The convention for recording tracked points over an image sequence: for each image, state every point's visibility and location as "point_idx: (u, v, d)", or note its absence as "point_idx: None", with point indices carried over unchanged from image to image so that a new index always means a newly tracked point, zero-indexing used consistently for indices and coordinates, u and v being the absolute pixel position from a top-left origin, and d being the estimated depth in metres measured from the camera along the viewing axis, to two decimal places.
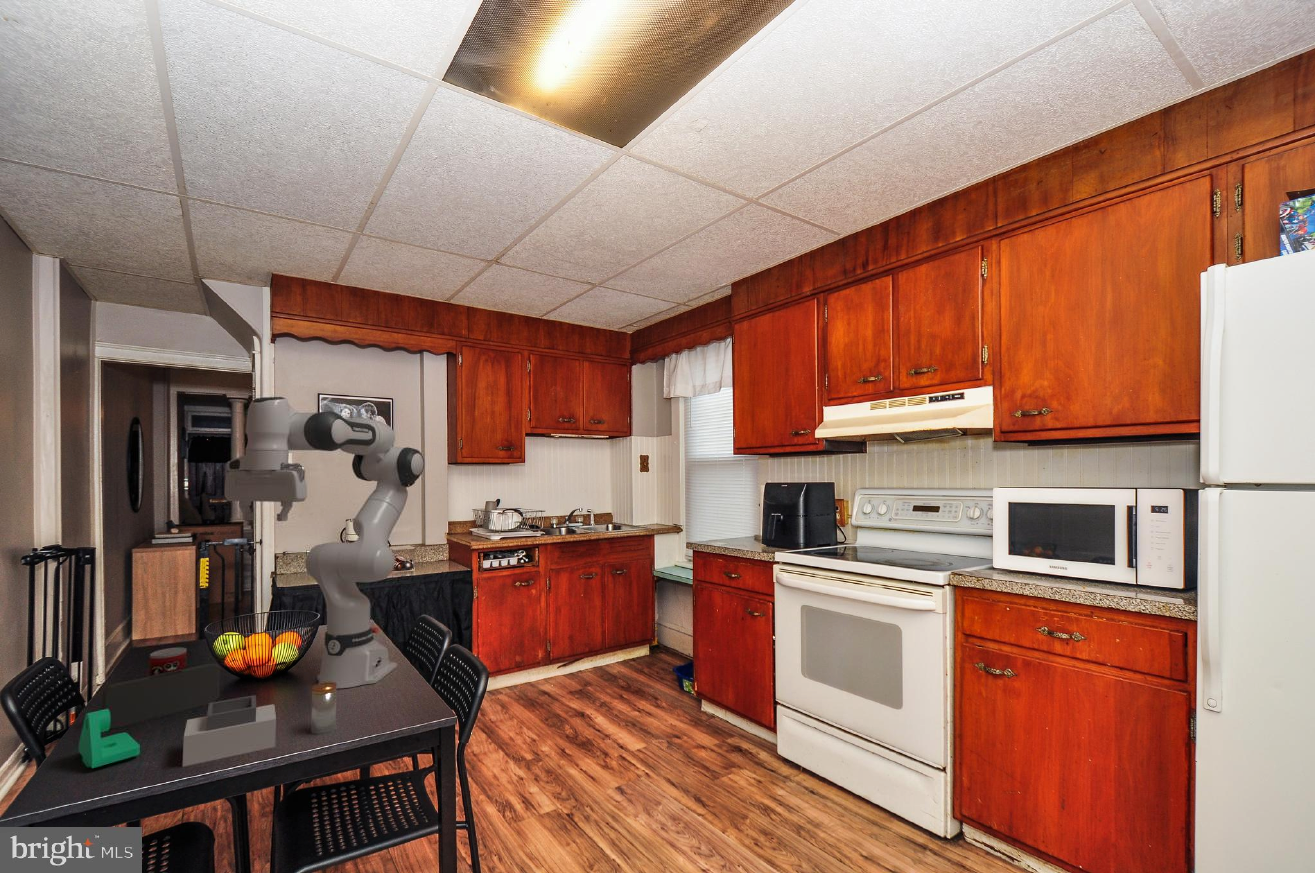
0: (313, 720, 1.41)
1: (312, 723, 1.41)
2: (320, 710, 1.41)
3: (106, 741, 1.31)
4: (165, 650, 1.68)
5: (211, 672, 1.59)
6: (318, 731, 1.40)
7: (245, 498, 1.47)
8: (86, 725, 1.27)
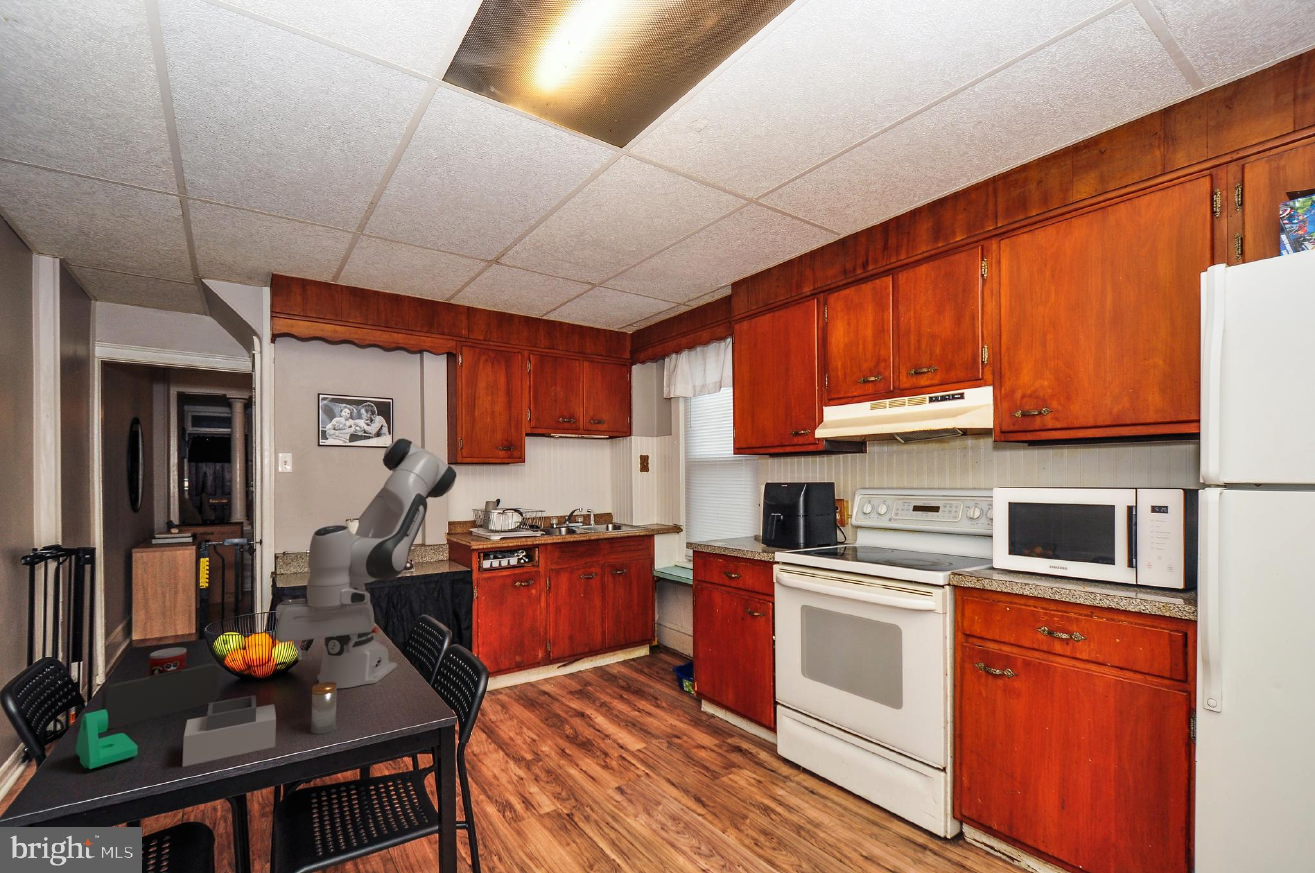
0: (313, 720, 1.41)
1: (312, 723, 1.41)
2: (320, 710, 1.41)
3: (104, 742, 1.31)
4: (165, 650, 1.68)
5: (211, 671, 1.59)
6: (318, 731, 1.40)
7: None
8: (83, 726, 1.27)
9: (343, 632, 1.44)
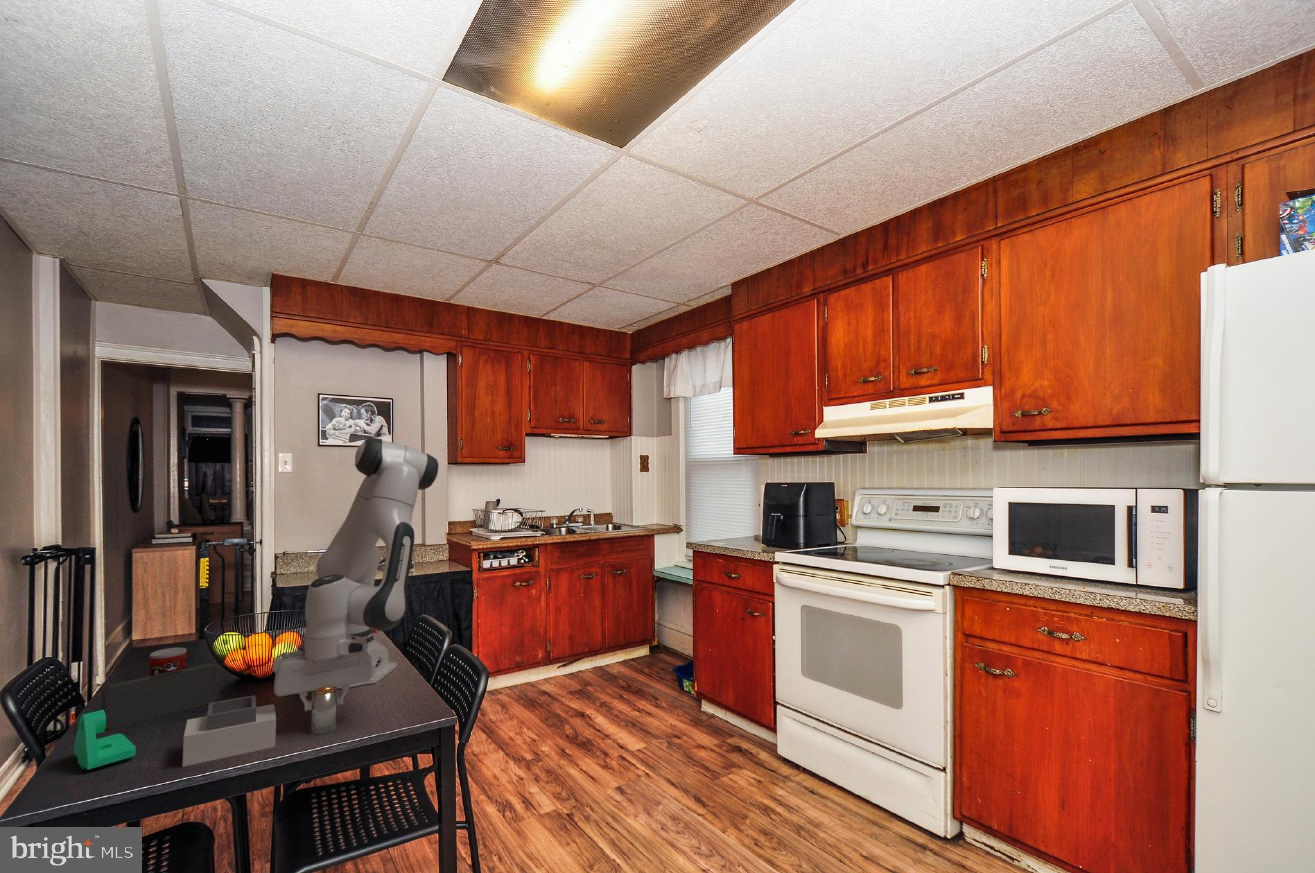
0: (313, 720, 1.41)
1: (312, 723, 1.41)
2: (320, 710, 1.41)
3: (101, 742, 1.30)
4: (165, 650, 1.68)
5: (211, 672, 1.59)
6: (318, 731, 1.40)
7: None
8: (81, 726, 1.27)
9: (341, 682, 1.44)
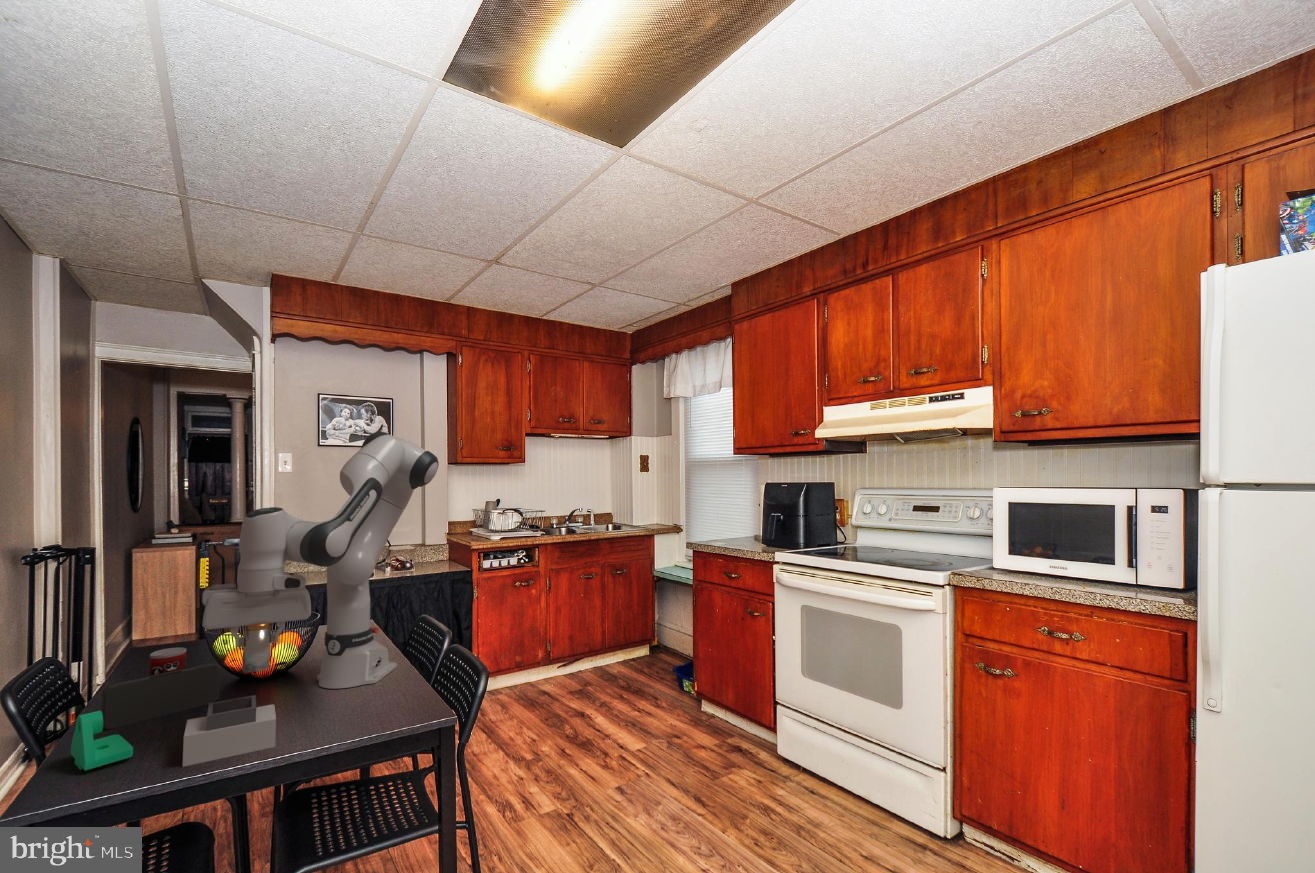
0: (245, 657, 1.34)
1: (243, 661, 1.34)
2: (252, 646, 1.34)
3: (99, 743, 1.30)
4: (165, 650, 1.68)
5: (211, 672, 1.59)
6: (249, 669, 1.34)
7: None
8: (78, 727, 1.26)
9: (276, 619, 1.37)
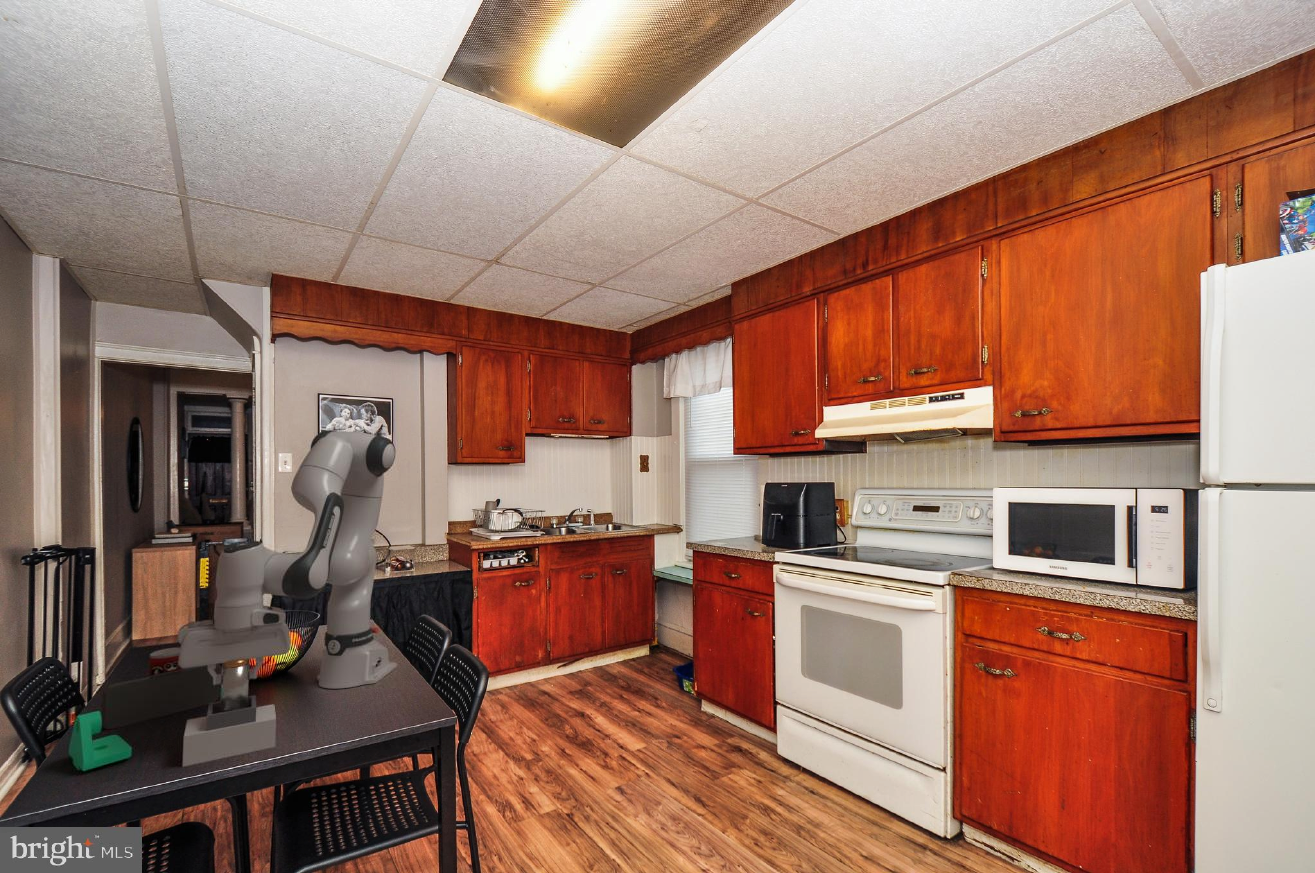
0: (222, 695, 1.32)
1: (221, 698, 1.32)
2: (230, 684, 1.32)
3: (97, 744, 1.30)
4: (165, 650, 1.68)
5: None
6: (227, 707, 1.32)
7: None
8: (77, 727, 1.26)
9: (255, 655, 1.35)
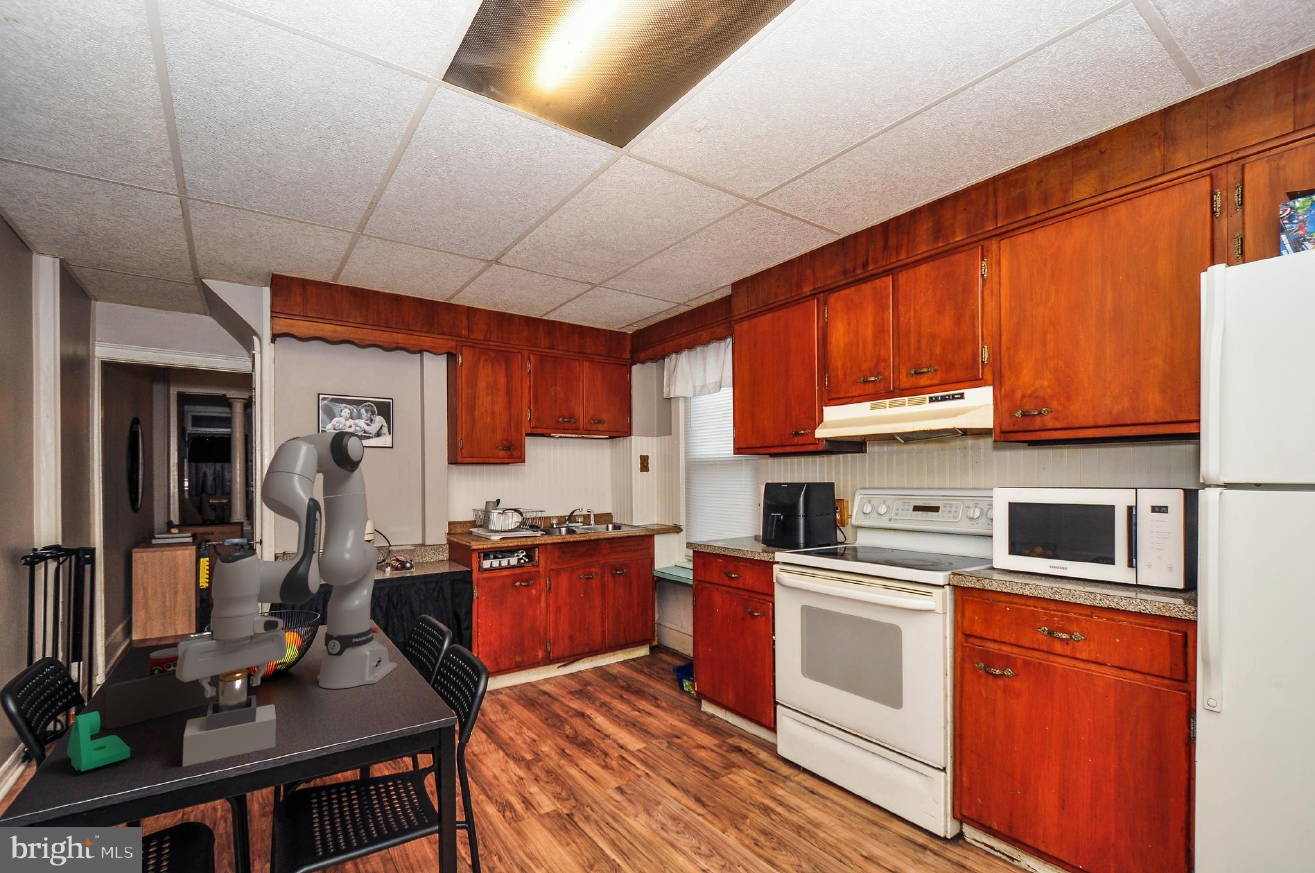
0: (223, 709, 1.32)
1: None
2: (232, 697, 1.32)
3: (95, 744, 1.30)
4: (165, 650, 1.68)
5: None
6: None
7: None
8: (75, 728, 1.26)
9: (254, 663, 1.36)
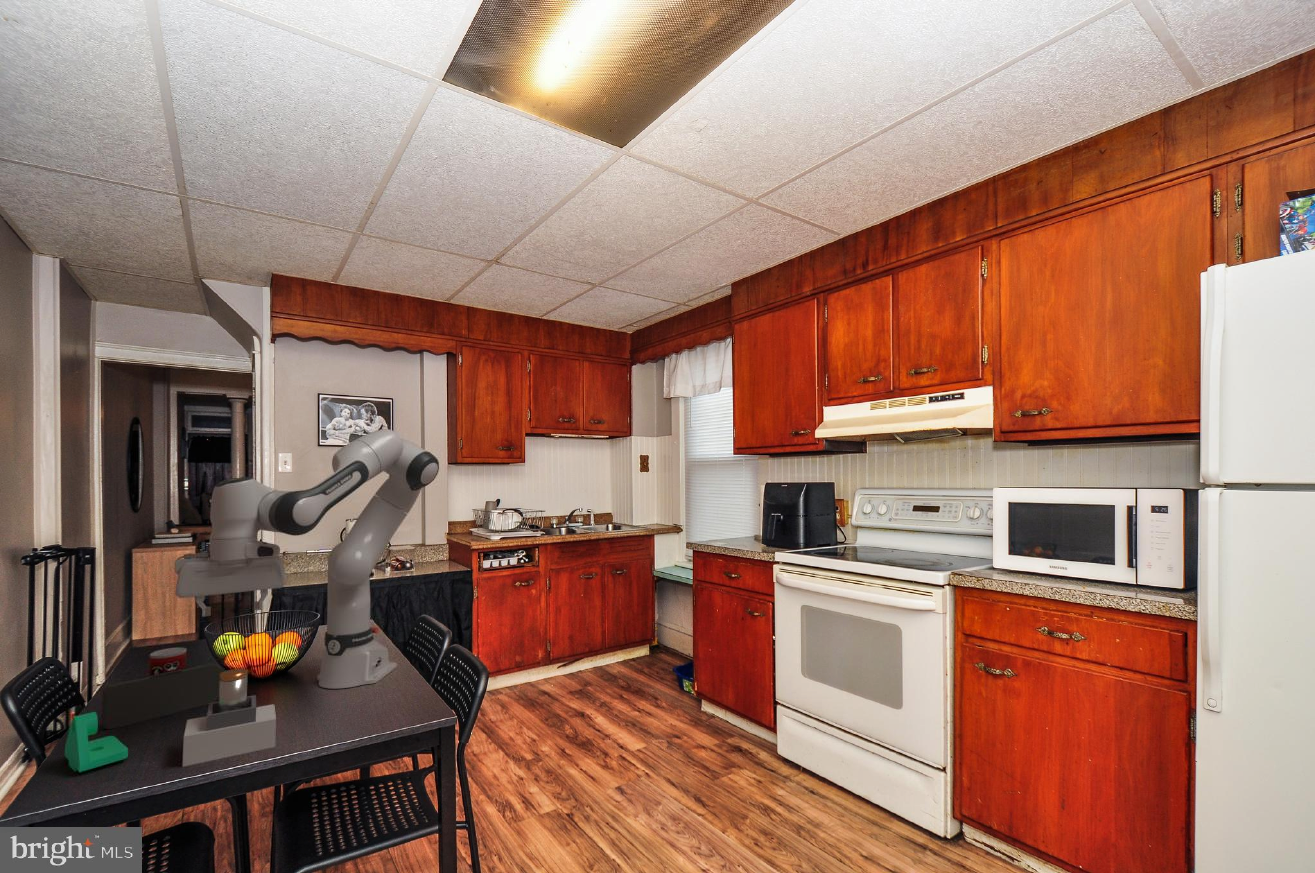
0: (223, 709, 1.32)
1: None
2: (232, 697, 1.32)
3: (93, 745, 1.29)
4: (165, 650, 1.68)
5: (211, 671, 1.59)
6: None
7: None
8: (73, 728, 1.26)
9: (251, 587, 1.38)
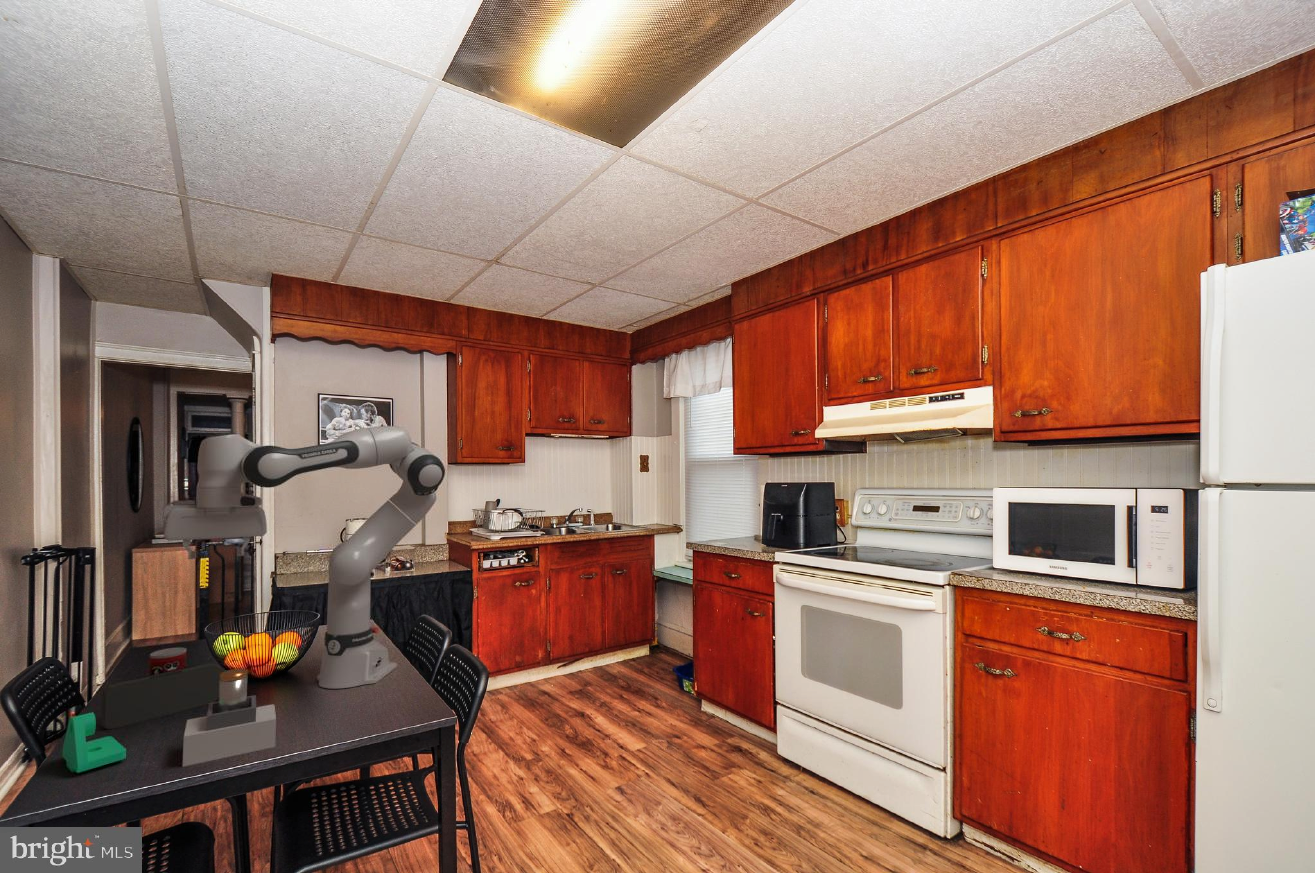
0: (223, 709, 1.32)
1: None
2: (232, 697, 1.32)
3: (91, 745, 1.29)
4: (165, 650, 1.68)
5: (211, 672, 1.59)
6: None
7: None
8: (70, 729, 1.25)
9: (234, 534, 1.49)
